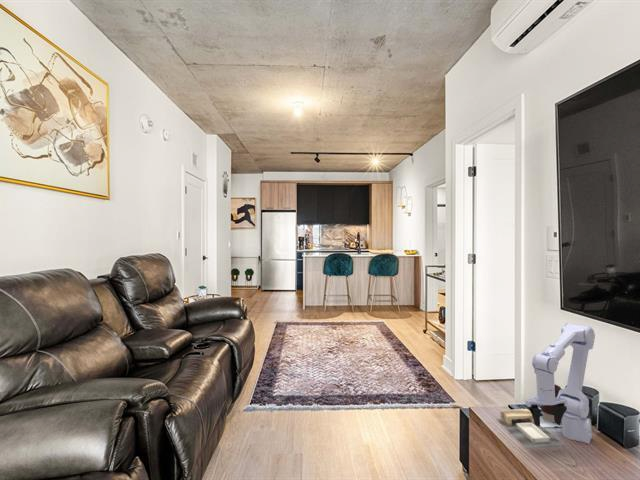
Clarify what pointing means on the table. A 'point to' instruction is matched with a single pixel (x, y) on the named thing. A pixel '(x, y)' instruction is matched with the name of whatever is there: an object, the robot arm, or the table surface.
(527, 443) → the overhang board
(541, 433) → the tray shell
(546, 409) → the coffee cup
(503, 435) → the table surface
